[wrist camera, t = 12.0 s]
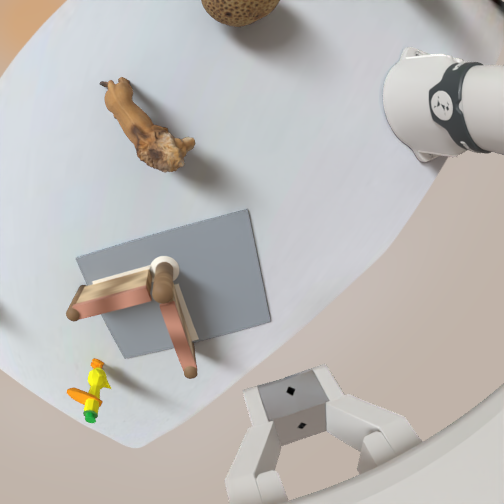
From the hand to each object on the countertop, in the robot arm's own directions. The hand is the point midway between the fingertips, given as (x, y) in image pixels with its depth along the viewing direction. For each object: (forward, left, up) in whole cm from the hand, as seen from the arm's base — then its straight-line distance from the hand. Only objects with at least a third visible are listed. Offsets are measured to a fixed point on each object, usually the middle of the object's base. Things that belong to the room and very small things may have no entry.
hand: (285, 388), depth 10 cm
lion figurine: (+5, -11, -31) cm, 34 cm away
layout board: (+7, +12, -31) cm, 34 cm away
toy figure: (+25, +21, -31) cm, 45 cm away
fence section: (+14, +8, -31) cm, 35 cm away
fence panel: (+8, +16, -30) cm, 35 cm away
